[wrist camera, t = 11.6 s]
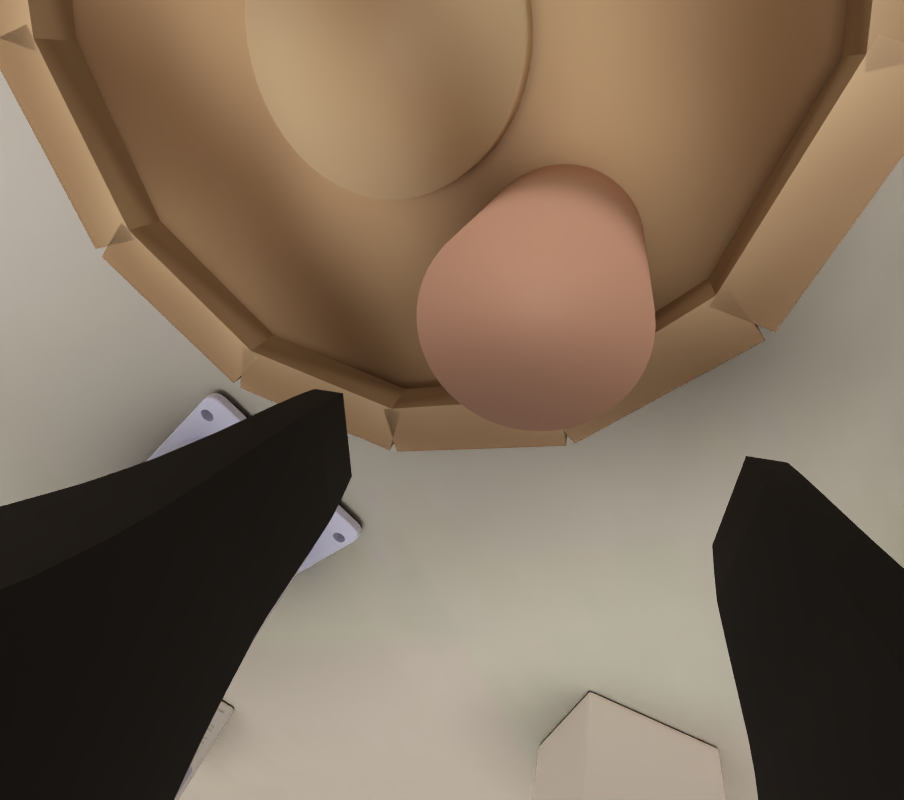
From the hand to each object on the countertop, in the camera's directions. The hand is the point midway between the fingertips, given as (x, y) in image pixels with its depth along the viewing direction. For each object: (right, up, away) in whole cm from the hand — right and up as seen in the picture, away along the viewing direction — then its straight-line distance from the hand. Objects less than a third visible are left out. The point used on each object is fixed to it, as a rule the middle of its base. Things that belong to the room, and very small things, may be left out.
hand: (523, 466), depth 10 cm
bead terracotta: (+1, +5, +3) cm, 6 cm away
